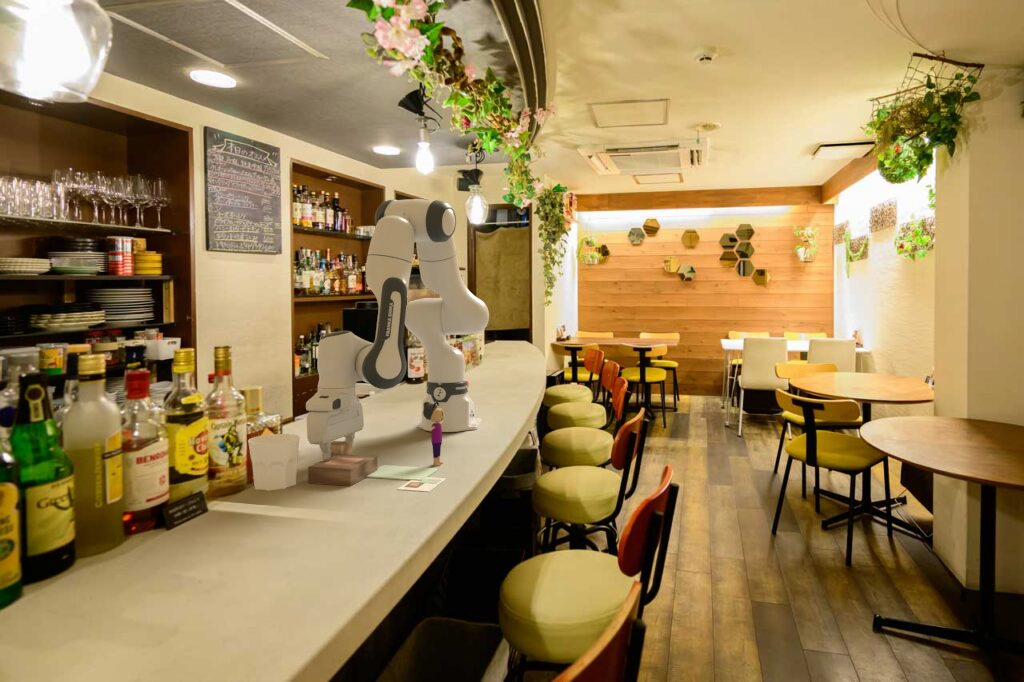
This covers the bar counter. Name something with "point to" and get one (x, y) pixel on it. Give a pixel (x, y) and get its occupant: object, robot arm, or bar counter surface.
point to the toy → (435, 428)
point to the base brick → (342, 470)
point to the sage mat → (402, 472)
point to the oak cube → (341, 447)
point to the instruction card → (422, 484)
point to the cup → (274, 460)
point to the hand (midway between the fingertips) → (338, 455)
